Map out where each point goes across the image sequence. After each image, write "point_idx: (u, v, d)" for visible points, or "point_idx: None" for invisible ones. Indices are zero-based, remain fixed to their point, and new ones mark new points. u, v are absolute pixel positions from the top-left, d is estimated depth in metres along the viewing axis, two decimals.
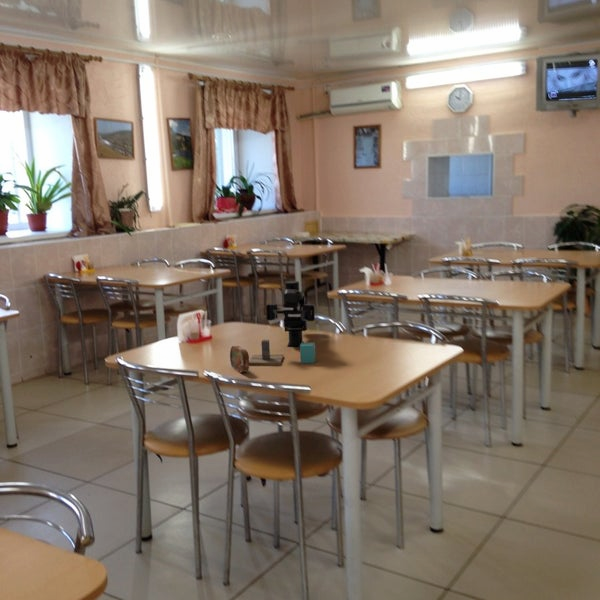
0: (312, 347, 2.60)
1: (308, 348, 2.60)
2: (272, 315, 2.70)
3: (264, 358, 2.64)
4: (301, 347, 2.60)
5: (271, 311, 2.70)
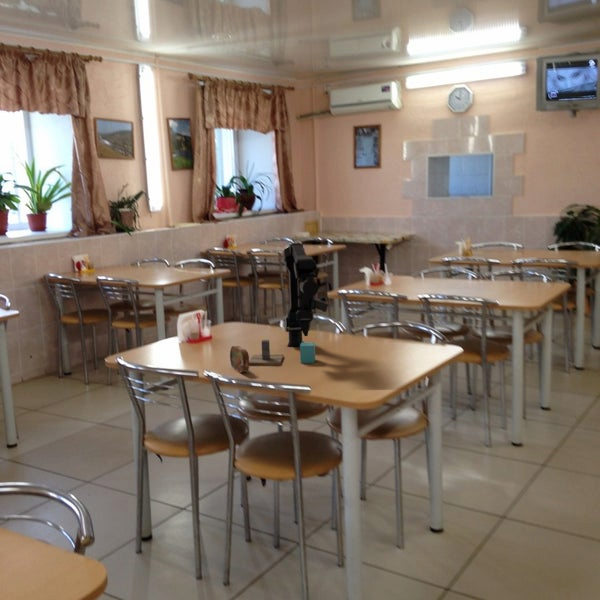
0: (312, 347, 2.60)
1: (308, 348, 2.60)
2: None
3: (264, 358, 2.64)
4: (301, 347, 2.60)
5: None
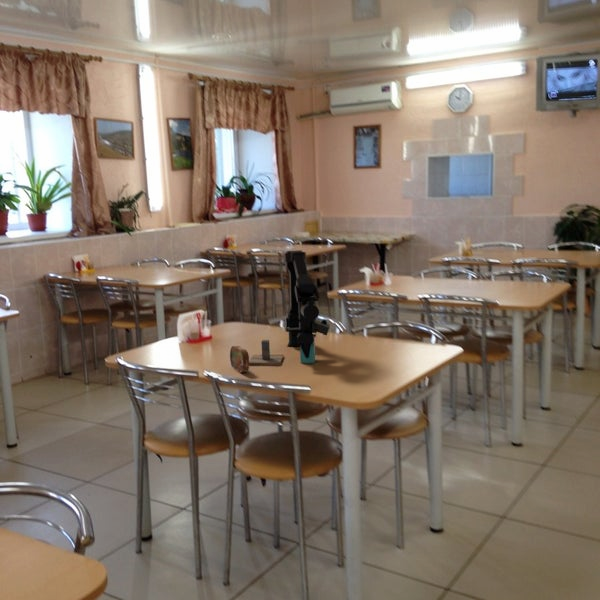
0: (312, 347, 2.60)
1: None
2: None
3: (264, 358, 2.64)
4: None
5: None
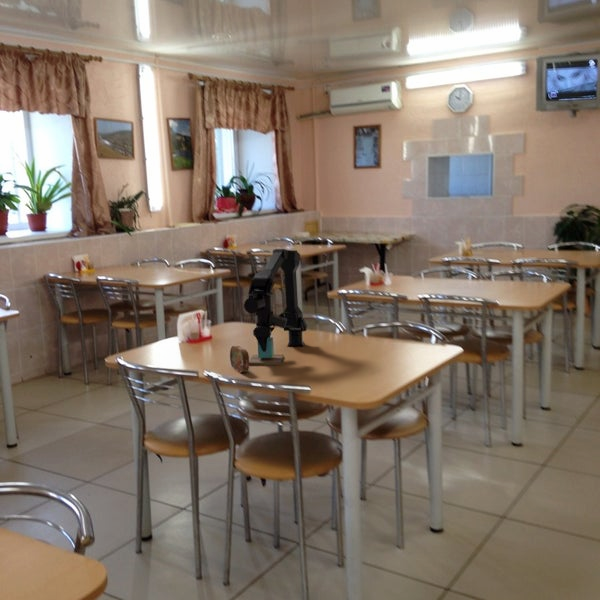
0: (269, 342, 2.62)
1: None
2: None
3: (264, 358, 2.64)
4: None
5: None
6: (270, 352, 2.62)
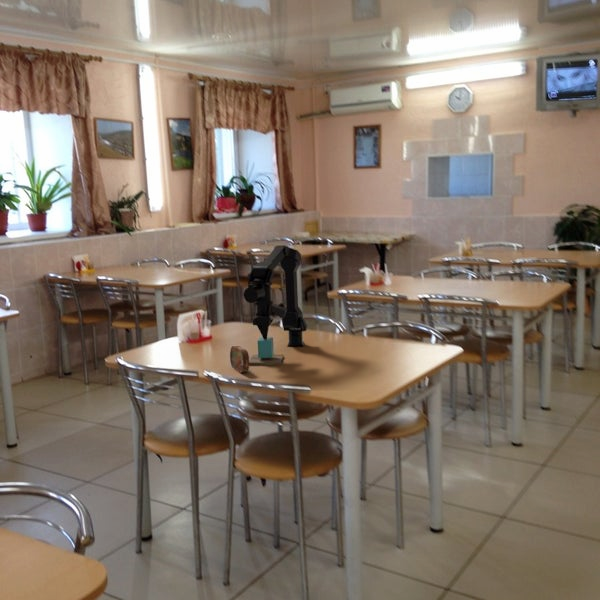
0: (269, 342, 2.62)
1: (265, 343, 2.62)
2: None
3: (264, 358, 2.64)
4: (259, 342, 2.62)
5: None
6: (270, 352, 2.62)
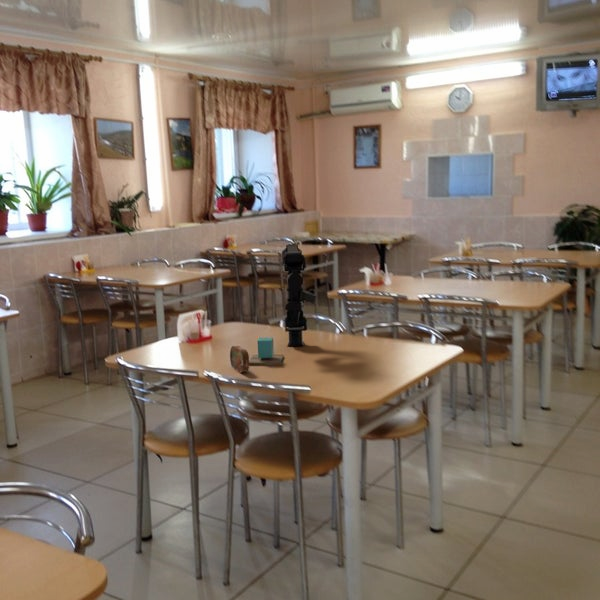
0: (269, 342, 2.62)
1: (265, 343, 2.62)
2: None
3: (264, 358, 2.64)
4: (259, 342, 2.62)
5: None
6: (270, 352, 2.62)
